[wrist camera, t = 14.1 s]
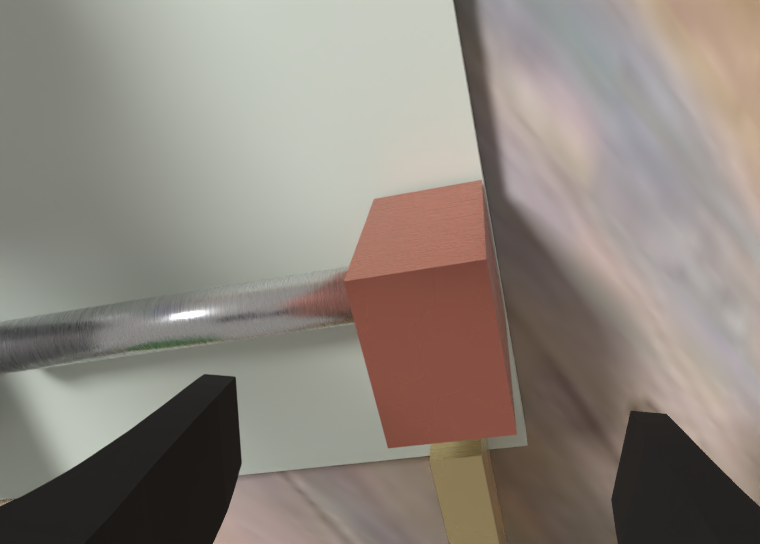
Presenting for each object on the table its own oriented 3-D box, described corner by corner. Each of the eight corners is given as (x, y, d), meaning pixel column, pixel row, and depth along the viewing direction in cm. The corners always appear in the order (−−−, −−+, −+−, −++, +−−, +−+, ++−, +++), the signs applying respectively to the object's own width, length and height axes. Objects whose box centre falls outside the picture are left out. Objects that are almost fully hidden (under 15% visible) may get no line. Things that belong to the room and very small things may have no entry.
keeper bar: (433, 411, 23) (429, 461, 20) (479, 405, 22) (481, 455, 20) (474, 591, 26) (474, 651, 24) (516, 589, 25) (520, 649, 23)
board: (-373, 54, 22) (-408, 59, 21) (426, -164, 17) (424, -170, 16) (-99, 494, 29) (-118, 512, 28) (525, 426, 24) (527, 445, 23)
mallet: (-40, 271, 22) (-179, 362, 17) (481, 179, 19) (485, 259, 14) (18, 388, 24) (-94, 499, 19) (506, 321, 21) (517, 434, 16)
